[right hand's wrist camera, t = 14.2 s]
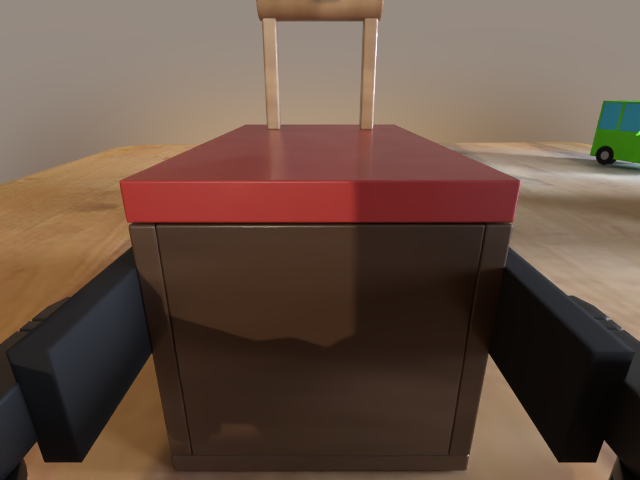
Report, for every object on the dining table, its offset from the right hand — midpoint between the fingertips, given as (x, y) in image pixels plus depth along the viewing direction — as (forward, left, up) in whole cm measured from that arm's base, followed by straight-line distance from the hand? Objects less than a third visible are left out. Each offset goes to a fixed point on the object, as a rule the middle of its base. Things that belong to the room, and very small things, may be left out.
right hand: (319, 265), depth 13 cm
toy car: (-39, -61, -6) cm, 72 cm away
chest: (+1, -5, -6) cm, 8 cm away
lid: (+1, -5, +3) cm, 6 cm away
